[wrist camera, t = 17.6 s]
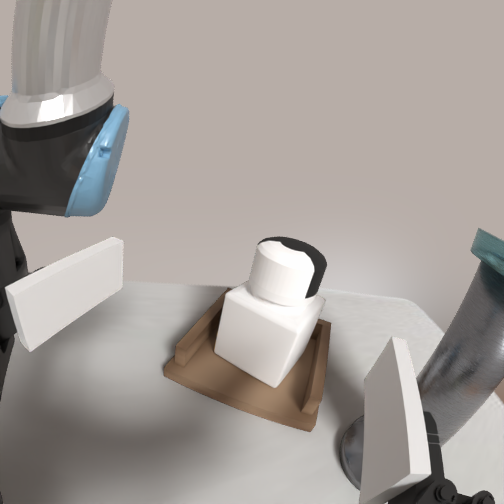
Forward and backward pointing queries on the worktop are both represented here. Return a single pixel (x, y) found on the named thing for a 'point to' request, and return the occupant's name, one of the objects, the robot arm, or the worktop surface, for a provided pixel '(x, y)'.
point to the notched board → (246, 386)
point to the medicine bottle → (272, 310)
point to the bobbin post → (456, 358)
